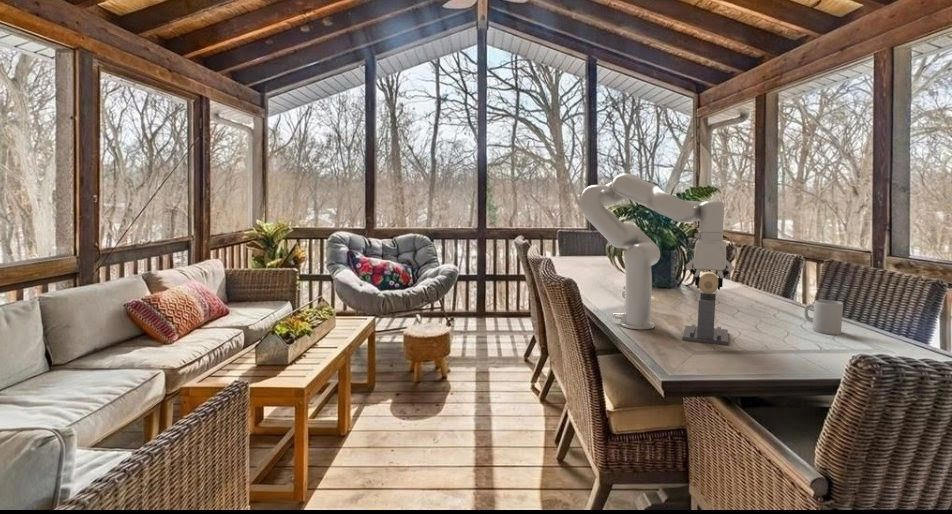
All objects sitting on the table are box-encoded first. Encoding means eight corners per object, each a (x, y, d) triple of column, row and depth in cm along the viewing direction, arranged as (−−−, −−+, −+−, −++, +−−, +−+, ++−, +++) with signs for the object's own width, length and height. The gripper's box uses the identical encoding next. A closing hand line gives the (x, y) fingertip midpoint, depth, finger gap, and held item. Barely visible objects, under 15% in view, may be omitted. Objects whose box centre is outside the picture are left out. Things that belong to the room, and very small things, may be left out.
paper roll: (717, 294, 166) (718, 276, 166) (698, 293, 169) (699, 275, 168) (718, 288, 177) (718, 272, 176) (699, 287, 180) (700, 271, 179)
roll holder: (682, 340, 171) (684, 299, 169) (685, 328, 186) (687, 291, 184) (728, 345, 164) (730, 303, 163) (727, 332, 180) (729, 294, 178)
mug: (845, 332, 180) (847, 302, 178) (834, 336, 175) (836, 305, 174) (809, 325, 190) (811, 297, 188) (797, 328, 185) (799, 299, 184)
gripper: (683, 237, 171) (681, 288, 173) (739, 238, 164) (736, 292, 166) (684, 235, 178) (682, 285, 180) (738, 236, 171) (736, 288, 173)
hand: (708, 288), depth 173 cm, fingers closed on paper roll, 5 cm apart
